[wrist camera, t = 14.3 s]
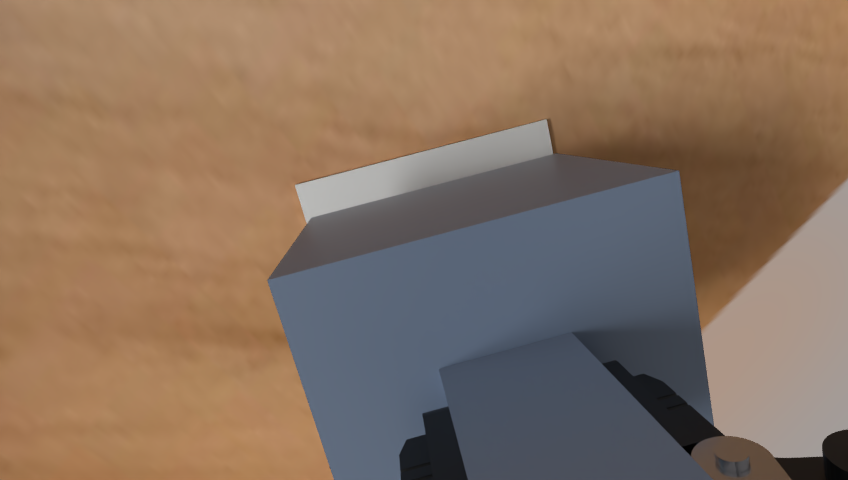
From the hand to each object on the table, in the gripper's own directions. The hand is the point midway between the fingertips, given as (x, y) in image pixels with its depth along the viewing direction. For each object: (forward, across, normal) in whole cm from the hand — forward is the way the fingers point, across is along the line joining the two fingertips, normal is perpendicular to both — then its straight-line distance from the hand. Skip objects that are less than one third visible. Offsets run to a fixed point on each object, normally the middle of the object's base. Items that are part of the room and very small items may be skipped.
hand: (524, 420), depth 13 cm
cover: (+9, 0, 0) cm, 9 cm away
